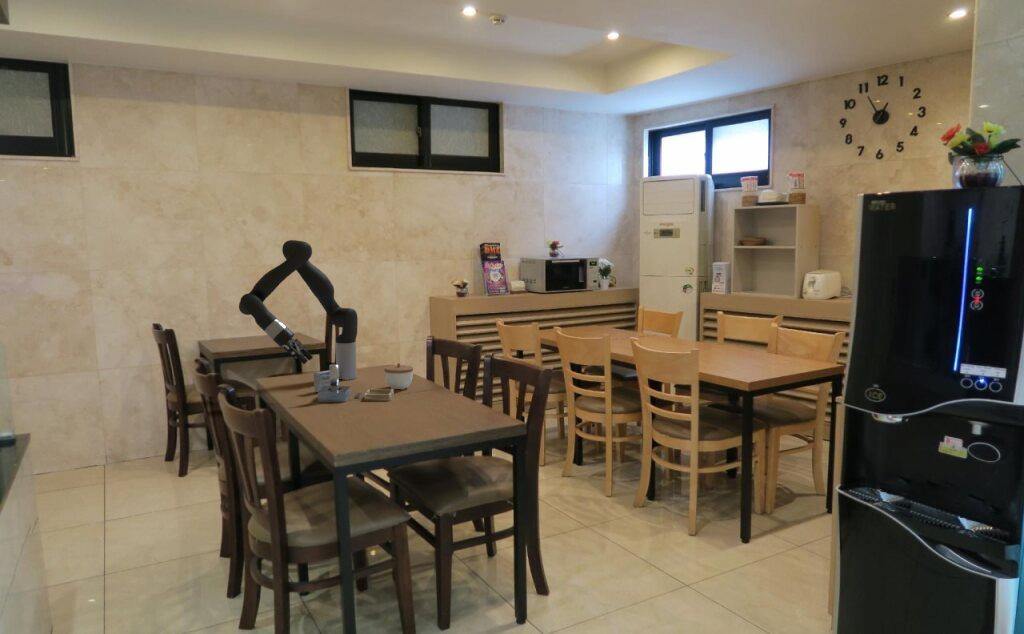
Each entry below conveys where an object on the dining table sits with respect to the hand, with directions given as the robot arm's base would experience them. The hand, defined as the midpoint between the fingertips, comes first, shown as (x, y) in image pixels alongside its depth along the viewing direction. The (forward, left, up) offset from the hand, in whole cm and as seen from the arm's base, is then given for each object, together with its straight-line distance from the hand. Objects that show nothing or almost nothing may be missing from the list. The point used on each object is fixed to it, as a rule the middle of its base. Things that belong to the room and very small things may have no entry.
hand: (308, 360), depth 274 cm
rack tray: (-1, +28, -16) cm, 32 cm away
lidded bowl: (-20, +34, -16) cm, 43 cm away
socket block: (0, +10, -16) cm, 19 cm away
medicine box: (-14, +3, -16) cm, 22 cm away
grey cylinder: (0, +10, -16) cm, 19 cm away
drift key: (-4, +19, -16) cm, 25 cm away
